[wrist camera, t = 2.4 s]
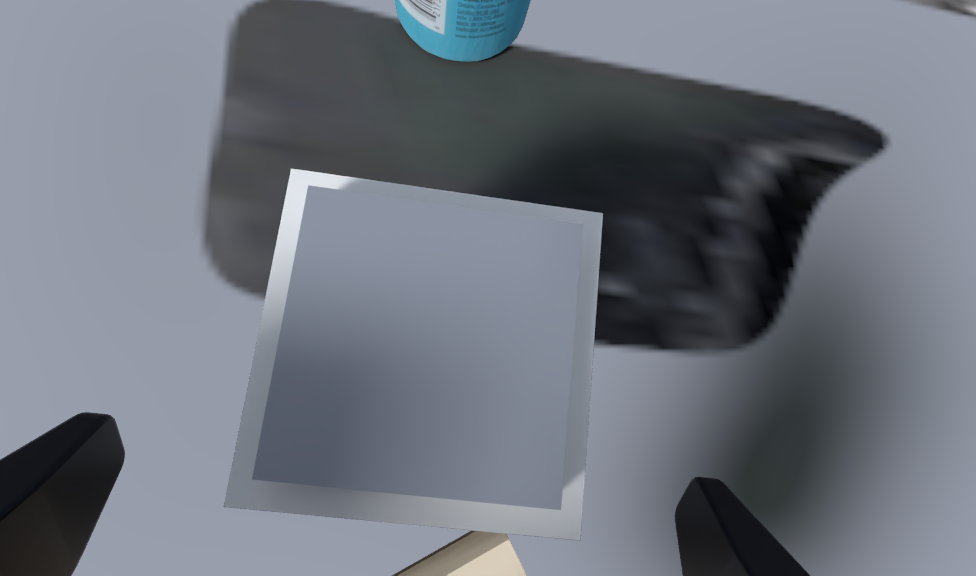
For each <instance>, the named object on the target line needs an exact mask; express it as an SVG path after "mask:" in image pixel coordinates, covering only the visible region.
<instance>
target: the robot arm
mask: <svg viewBox="0 0 976 576" xmlns="http://www.w3.org/2000/svg"><path fill="white" fill-rule="evenodd" d="M124 457H125V451H124V447H123V443H122V440H121V437H120V434H119V431H118V427H117V424H116V421H115V419H114V418H113V417H112V416H111V415H108V414H98V413H87V412H86V413H80V414H77V415H75V416H74V417H72V418H70V419H68V420H67V421H65V422H63V423H62V424H60V425H58V426H56V427H55V428H53V429H51V430H50V431H48V432H46V433H45V434H43V435H42V436H40V437H38V438H36V439H35V440H33V441H31V442H29V443H28V444H26V445H25V446H23V447H21V448H19V449H18V450H16V451H14V452H13V453H11V454H9V455H7V456H6V457H4V458H2V459H1V460H0V576H71V575H72V574H73V572H74V570H75V568H76V566H77V564H78V562H79V560H80V558H81V556H82V554H83V552H84V550H85V548H86V545H87V543H88V541H89V539H90V537H91V534H92V532H93V530H94V528H95V526H96V523H97V521H98V519H99V517H100V515H101V512H102V510H103V508H104V506H105V504H106V501H107V499H108V497H109V495H110V492H111V490H112V488H113V486H114V484H115V481H116V479H117V477H118V475H119V473H120V470H121V468H122V466H123V462H124ZM675 523H676V531H677V537H678V545H679V552H680V559H681V566H682V574H683V576H810V575H809V574H808V573H807V572H806V571H805V570H804V569H803V568H802V567H801V565H800V564H799V563H798V562H797V561H796V560H795V559H794V558H793V557H792V556H791V555H790V554H789V553H788V551H787V550H786V549H785V548H784V547H783V546H782V545H781V544H780V543H779V542H778V541H777V540H776V539H775V537H774V536H773V535H772V534H771V533H770V532H769V531H768V530H767V529H766V528H765V527H764V526H763V525H762V524H761V522H760V521H759V520H758V519H757V518H756V517H755V516H754V515H753V514H752V513H751V512H750V511H749V510H748V508H747V507H746V506H745V505H744V504H743V503H742V502H741V501H740V500H739V499H738V498H737V497H736V496H735V495H734V493H732V491H731V490H730V489H729V488H728V487H727V486H726V485H725V484H724V483H723V482H721V481H720V480H718V479H714V478H704V477H695V478H694V479H692V480H691V482H690V483H689V485H688V487H687V489H686V491H685V492H684V494H683V496H682V498H681V500H680V501H679V503H678V506H677V508H676V512H675Z"/></svg>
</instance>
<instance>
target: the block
mask: <svg viewBox="0 0 976 576" xmlns="http://www.w3.org/2000/svg"><path fill="white" fill-rule="evenodd" d="M392 576H527V575H526V573H525V571H524V569H523V567H522V565H521V562H520V560H519V558H518V556H517V554H516V552H515V550H514V548H513V546H512V544H511V542H510V540H509V538H508V536H507V535H506V534H504V533H493V532H483V531H472V530H471V531H470V532H468V533H466V534H464V535H463V536H461V537H459V538H457V539H455V540H454V541H452V542H450V543H448V544H447V545H445V546H443V547H441V548H440V549H438V550H436V551H434V552H433V553H431V554H429V555H428V556H425V557H424V558H422V559H420V560H418V561H417V562H415V563H413V564H412V565H410V566H408V567H406V568H405V569H402V570H401V571H399V572H397V573H395V574H394V575H392Z"/></svg>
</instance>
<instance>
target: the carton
mask: <svg viewBox="0 0 976 576" xmlns="http://www.w3.org/2000/svg"><path fill="white" fill-rule="evenodd" d="M602 220H603V213H597V212H590V211H583V210H576V209H570V208H563V207H556V206H549V205H542V204H535V203H528V202H521V201H514V200H507V199H500V198H493V197H486V196H479V195H472V194H465V193H458V192H451V191H444V190H437V189H430V188H423V187H416V186H409V185H402V184H395V183H388V182H381V181H374V180H367V179H360V178H353V177H346V176H339V175H332V174H325V173H318V172H311V171H304V170H297V169H291V172H290V177H289V182H288V187H287V192H286V197H285V202H284V207H283V212H282V217H281V222H280V227H279V232H278V237H277V242H276V247H275V252H274V257H273V263H272V268H271V273H270V278H269V283H268V288H267V293H266V298H265V303H264V308H263V313H262V318H261V323H260V328H259V333H258V338H257V343H256V348H255V353H254V358H253V363H252V368H251V373H250V378H249V383H248V388H247V393H246V398H245V403H244V408H243V413H242V418H241V423H240V428H239V433H238V438H237V443H236V448H235V453H234V458H233V463H232V468H231V473H230V478H229V483H228V488H227V493H226V498H225V503H224V507H230V508H240V509H250V510H261V511H271V512H282V513H293V514H304V515H314V516H325V517H335V518H345V519H356V520H366V521H377V522H388V523H398V524H409V525H419V526H430V527H440V528H451V529H462V530H472V531H483V532H493V533H504V534H514V535H525V536H535V537H546V538H556V539H568V540H577V541H580V539H581V525H582V524H581V523H582V510H583V496H584V481H585V467H586V452H587V438H588V423H589V408H590V394H591V379H592V365H593V351H594V336H595V322H596V307H597V292H598V278H599V263H600V249H601V234H602Z"/></svg>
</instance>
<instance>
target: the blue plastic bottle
mask: <svg viewBox="0 0 976 576" xmlns="http://www.w3.org/2000/svg"><path fill="white" fill-rule="evenodd" d="M395 4H396V9H397V14H398V17H399V20H400V22H401V24H402V26H403V27H404V29H405V30H406V32H407V33H408V35H409V36H410V37H411V38H412V39H413V40H414V41H415V42H416V43H417V44H418V45H419V46H420V47H421V48H423V49H424V50H426V51H427V52H429V53H431V54H434V55H436V56H439V57H441V58H444V59H448V60H454V61H467V62H470V61H480V60H484V59H487V58H490V57H492V56H494V55H496V54H498V53H500V52H501V51H503V50H504V49H506V48H507V47H508V46H509V45H510V44H511V43H512V42H513V41H514V40H515V39H516V38H517V36H518V34H519V32H520V30H521V28H522V26H523V24H524V21H525V17H526V14H527V10H528V7H529V4H530V0H395Z"/></svg>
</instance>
